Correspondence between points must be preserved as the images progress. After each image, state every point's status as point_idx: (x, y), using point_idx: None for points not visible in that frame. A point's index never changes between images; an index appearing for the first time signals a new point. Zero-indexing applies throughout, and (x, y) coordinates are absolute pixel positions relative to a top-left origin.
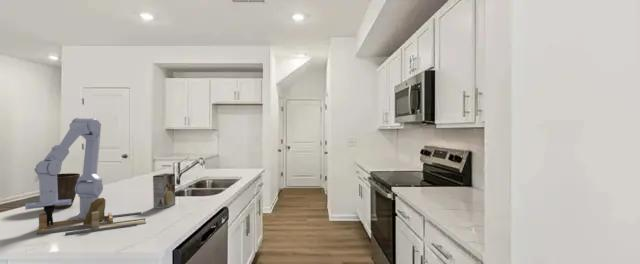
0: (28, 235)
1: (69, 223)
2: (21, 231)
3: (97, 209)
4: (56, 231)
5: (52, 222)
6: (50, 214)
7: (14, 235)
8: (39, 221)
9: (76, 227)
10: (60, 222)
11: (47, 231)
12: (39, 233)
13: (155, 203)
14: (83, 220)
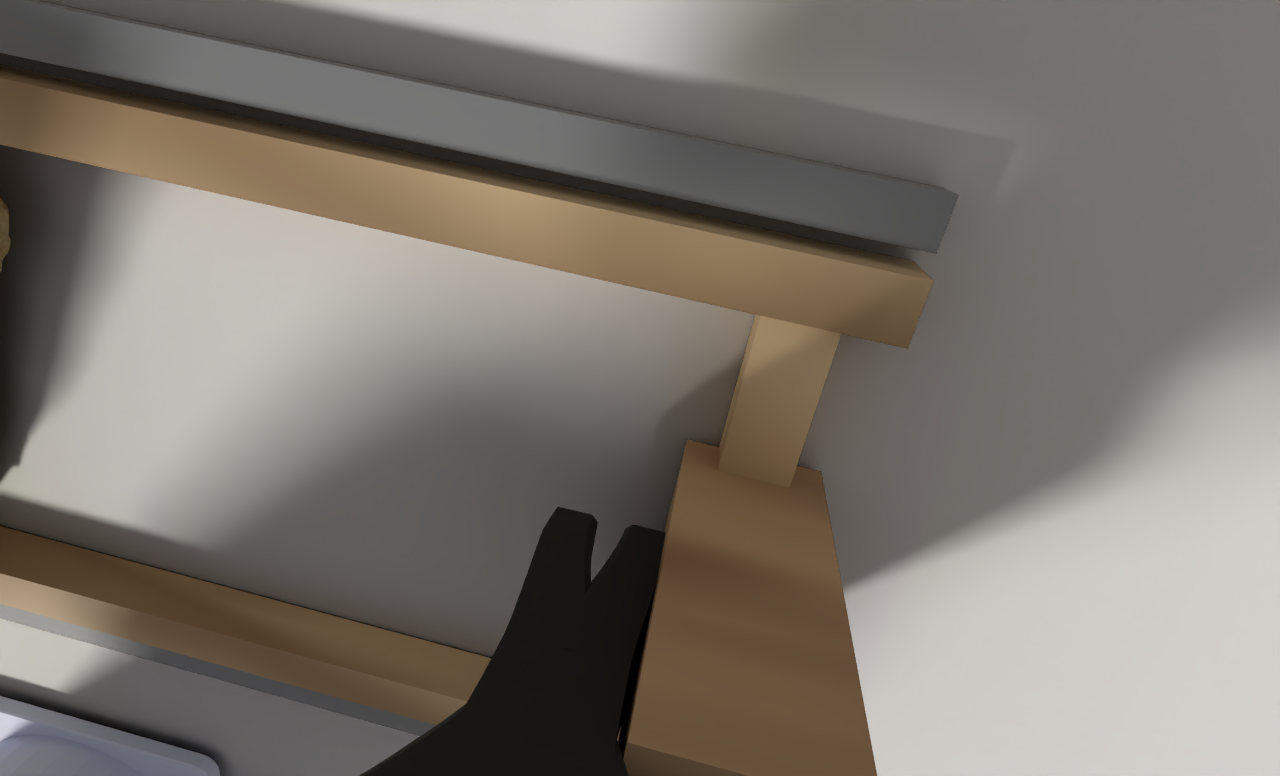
0: (1084, 289)
1: (325, 614)
2: (1049, 691)
3: None
4: (537, 109)
5: (544, 535)
6: (505, 704)
7: (1276, 509)
8: (834, 620)
9: (110, 32)
10: (433, 678)
11: (720, 143)
12: (889, 178)
13: None
14: (111, 577)
